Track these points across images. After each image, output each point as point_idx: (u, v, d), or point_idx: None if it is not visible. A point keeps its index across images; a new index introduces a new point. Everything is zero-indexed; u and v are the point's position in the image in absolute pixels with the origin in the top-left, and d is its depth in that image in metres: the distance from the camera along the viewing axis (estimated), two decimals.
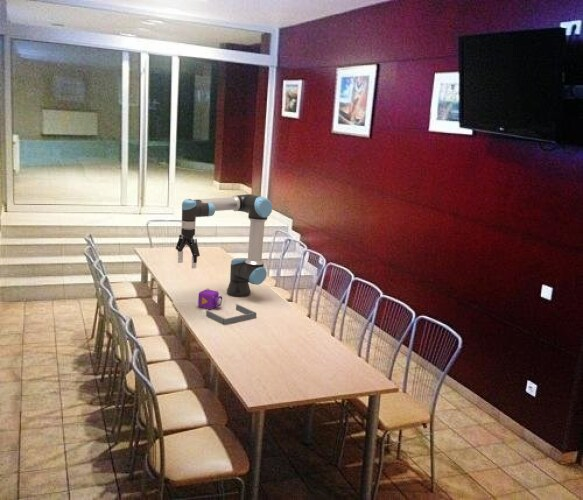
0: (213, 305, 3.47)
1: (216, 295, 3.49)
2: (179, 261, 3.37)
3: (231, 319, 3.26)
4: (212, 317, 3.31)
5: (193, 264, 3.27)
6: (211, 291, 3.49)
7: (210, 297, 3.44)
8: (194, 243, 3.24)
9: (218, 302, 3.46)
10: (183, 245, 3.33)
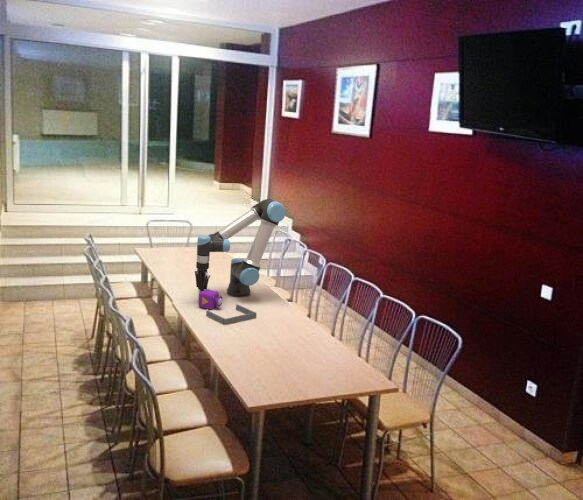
0: (213, 305, 3.46)
1: (216, 295, 3.48)
2: None
3: (231, 319, 3.26)
4: (212, 317, 3.31)
5: None
6: (211, 291, 3.49)
7: (210, 297, 3.44)
8: (206, 279, 3.50)
9: (218, 302, 3.45)
10: None
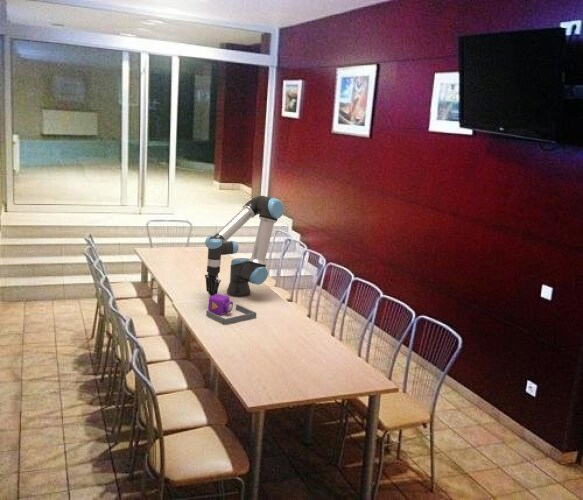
0: (223, 311, 3.38)
1: (227, 300, 3.40)
2: None
3: (231, 319, 3.26)
4: (212, 317, 3.31)
5: None
6: (222, 296, 3.40)
7: (221, 302, 3.35)
8: (217, 283, 3.42)
9: (229, 308, 3.37)
10: None
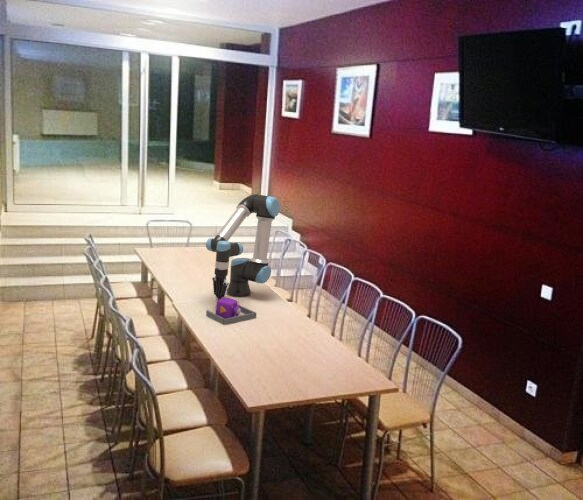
0: (231, 315, 3.33)
1: (235, 304, 3.35)
2: None
3: (231, 319, 3.26)
4: (212, 317, 3.31)
5: None
6: (230, 300, 3.35)
7: (229, 306, 3.30)
8: (224, 286, 3.36)
9: (237, 312, 3.32)
10: None
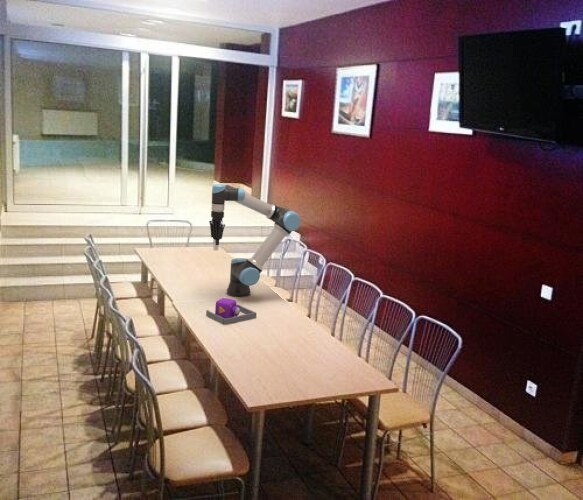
0: (231, 314, 3.33)
1: (234, 304, 3.35)
2: None
3: (231, 319, 3.26)
4: (212, 317, 3.31)
5: (215, 246, 3.52)
6: (229, 300, 3.35)
7: (228, 306, 3.30)
8: (221, 228, 3.46)
9: (236, 311, 3.32)
10: None
